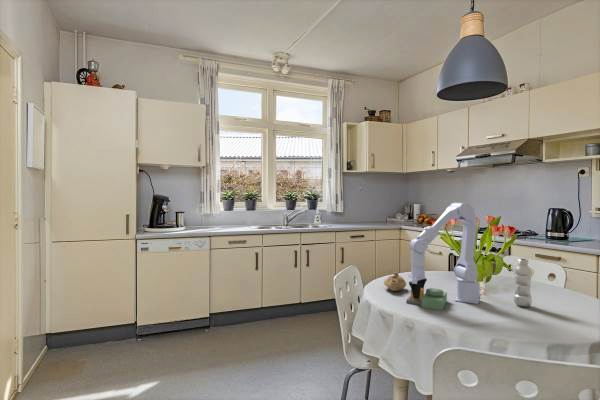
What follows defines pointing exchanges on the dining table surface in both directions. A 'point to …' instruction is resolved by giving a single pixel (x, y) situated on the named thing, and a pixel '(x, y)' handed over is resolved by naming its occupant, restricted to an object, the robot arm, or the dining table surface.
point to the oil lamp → (395, 282)
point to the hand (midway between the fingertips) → (417, 296)
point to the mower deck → (431, 299)
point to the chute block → (419, 296)
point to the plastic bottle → (522, 284)
